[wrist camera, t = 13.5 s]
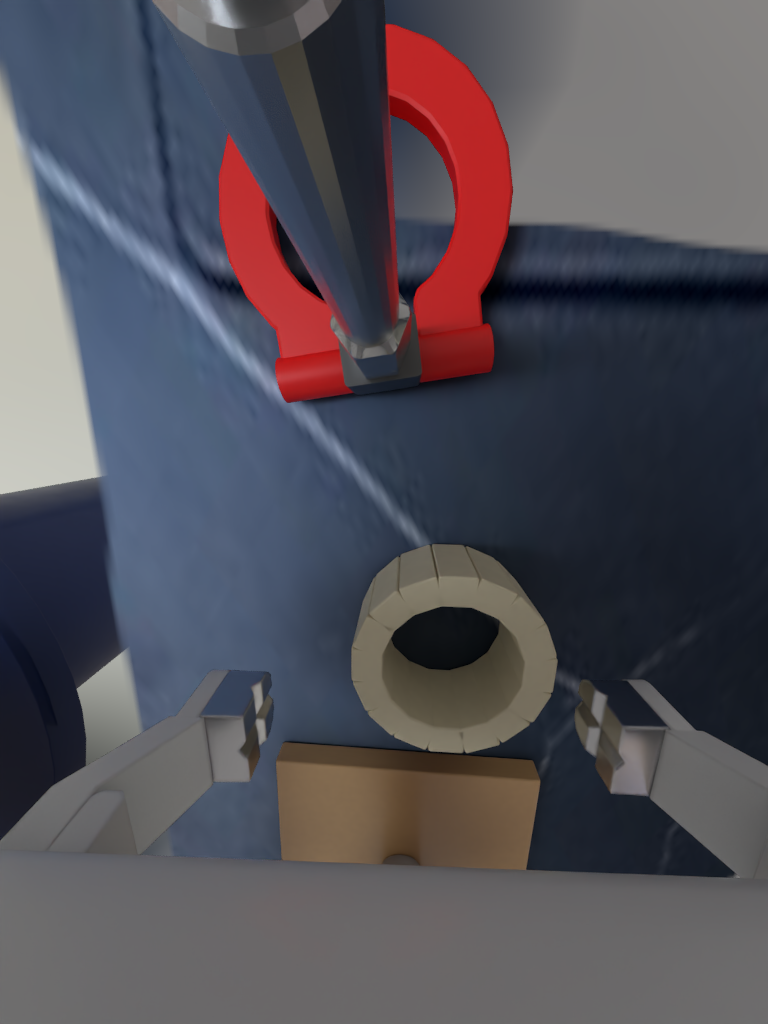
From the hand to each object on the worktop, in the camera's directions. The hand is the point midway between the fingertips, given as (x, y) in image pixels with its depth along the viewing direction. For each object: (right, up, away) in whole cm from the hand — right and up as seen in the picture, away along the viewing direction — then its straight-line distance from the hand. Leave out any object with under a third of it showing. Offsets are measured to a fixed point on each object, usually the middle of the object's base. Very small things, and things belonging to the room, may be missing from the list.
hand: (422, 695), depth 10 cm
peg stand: (0, -11, +8) cm, 13 cm away
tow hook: (-2, +13, +2) cm, 14 cm away
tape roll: (+1, +1, +5) cm, 5 cm away
